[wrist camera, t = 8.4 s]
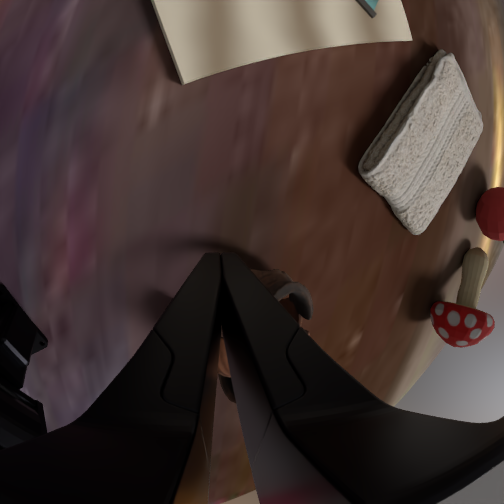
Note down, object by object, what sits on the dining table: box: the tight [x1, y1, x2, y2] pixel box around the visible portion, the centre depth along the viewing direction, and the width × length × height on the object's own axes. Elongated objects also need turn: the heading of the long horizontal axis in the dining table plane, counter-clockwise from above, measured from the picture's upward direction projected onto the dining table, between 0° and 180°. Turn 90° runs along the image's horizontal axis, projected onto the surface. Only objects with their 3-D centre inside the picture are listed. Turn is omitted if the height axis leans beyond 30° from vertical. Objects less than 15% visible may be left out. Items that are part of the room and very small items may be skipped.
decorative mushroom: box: [430, 247, 495, 347], centre depth 35 cm, size 11×11×15 cm
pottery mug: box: [218, 269, 313, 403], centre depth 23 cm, size 12×10×8 cm
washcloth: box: [358, 49, 483, 235], centre depth 24 cm, size 12×18×3 cm, turn 143°
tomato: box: [476, 187, 504, 242], centre depth 30 cm, size 8×8×8 cm
